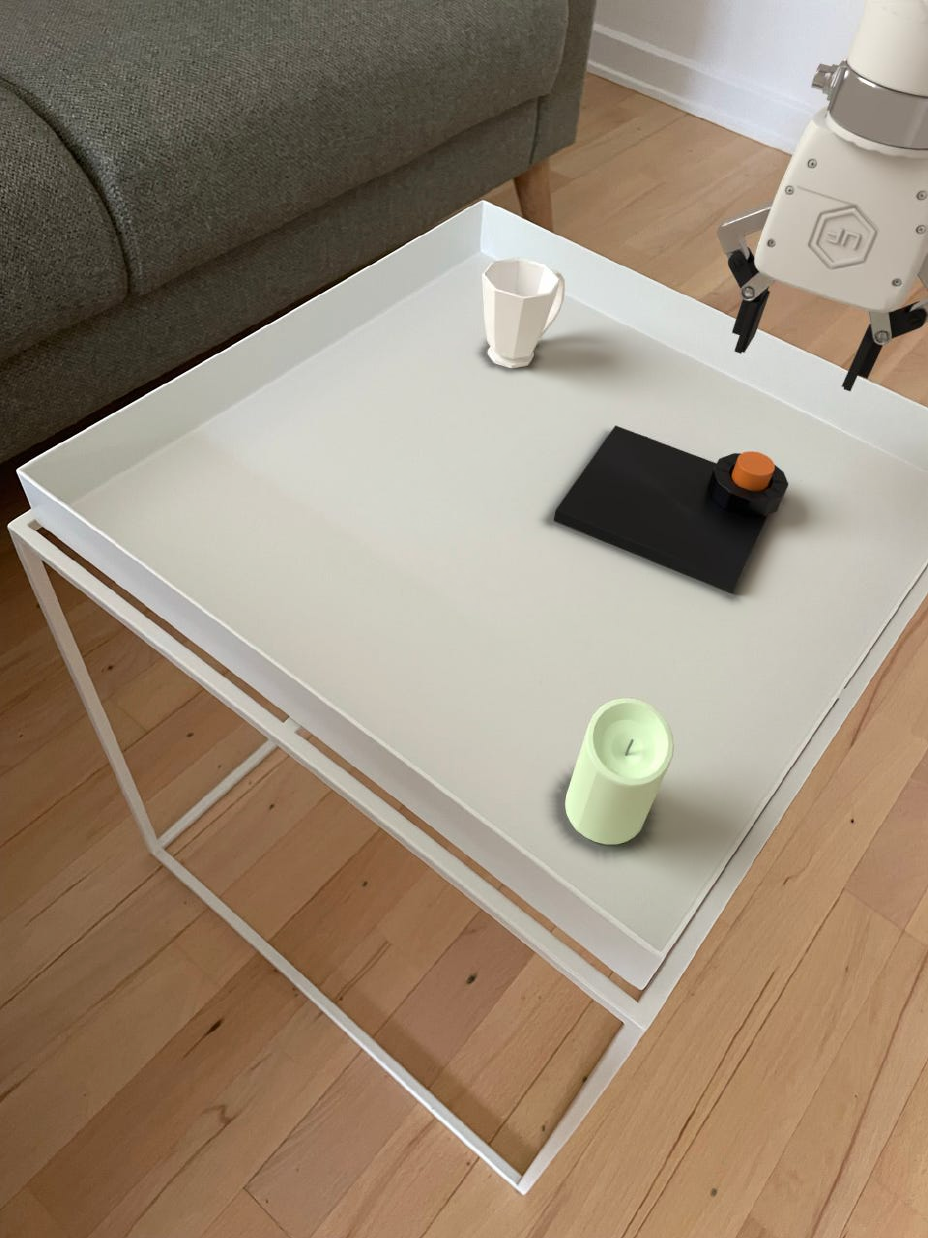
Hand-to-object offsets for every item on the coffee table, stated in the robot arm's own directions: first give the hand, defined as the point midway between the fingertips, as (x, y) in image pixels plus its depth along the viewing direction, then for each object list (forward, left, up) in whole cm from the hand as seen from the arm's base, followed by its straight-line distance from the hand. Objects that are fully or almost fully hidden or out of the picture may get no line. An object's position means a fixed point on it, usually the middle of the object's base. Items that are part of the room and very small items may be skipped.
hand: (796, 361), depth 71 cm
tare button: (0, 0, -11) cm, 11 cm away
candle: (-1, +33, -14) cm, 36 cm away
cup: (+25, -10, -14) cm, 30 cm away
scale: (+5, +4, -14) cm, 15 cm away
